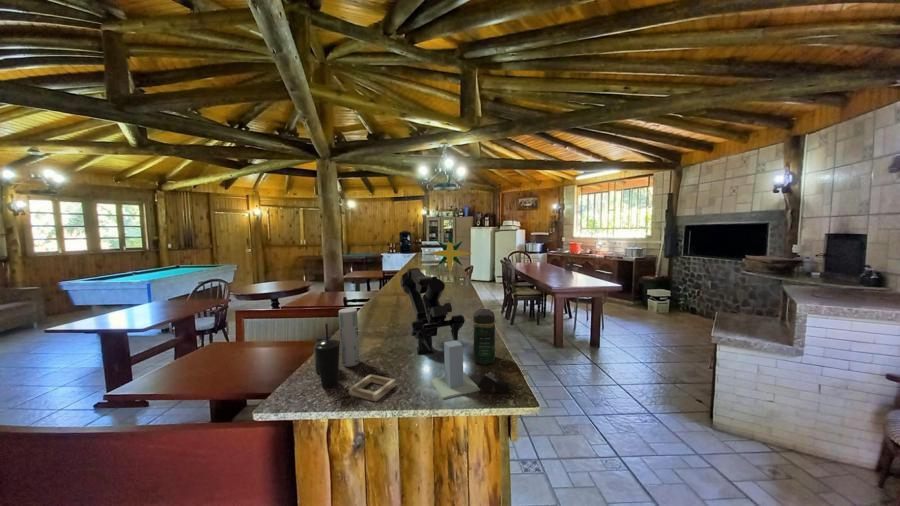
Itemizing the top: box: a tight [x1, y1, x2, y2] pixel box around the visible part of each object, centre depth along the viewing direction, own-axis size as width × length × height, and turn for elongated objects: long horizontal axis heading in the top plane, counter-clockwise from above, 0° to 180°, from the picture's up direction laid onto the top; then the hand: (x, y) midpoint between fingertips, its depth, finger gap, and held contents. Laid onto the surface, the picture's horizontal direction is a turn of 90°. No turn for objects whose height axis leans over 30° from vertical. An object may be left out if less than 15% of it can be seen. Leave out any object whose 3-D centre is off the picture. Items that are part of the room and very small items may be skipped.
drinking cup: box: [314, 323, 341, 390], centre depth 105 cm, size 8×8×20 cm
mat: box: [429, 371, 481, 400], centre depth 103 cm, size 12×12×1 cm
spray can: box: [338, 307, 360, 368], centre depth 121 cm, size 6×6×20 cm
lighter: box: [476, 372, 511, 395], centre depth 99 cm, size 9×2×6 cm
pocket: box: [348, 373, 397, 402], centre depth 102 cm, size 10×10×2 cm
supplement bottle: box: [313, 334, 332, 374], centre depth 116 cm, size 7×7×12 cm
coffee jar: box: [472, 308, 496, 366], centre depth 121 cm, size 10×8×19 cm
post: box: [443, 340, 464, 389], centre depth 102 cm, size 4×4×13 cm
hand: (443, 347), depth 110 cm, fingers open, 9 cm apart
